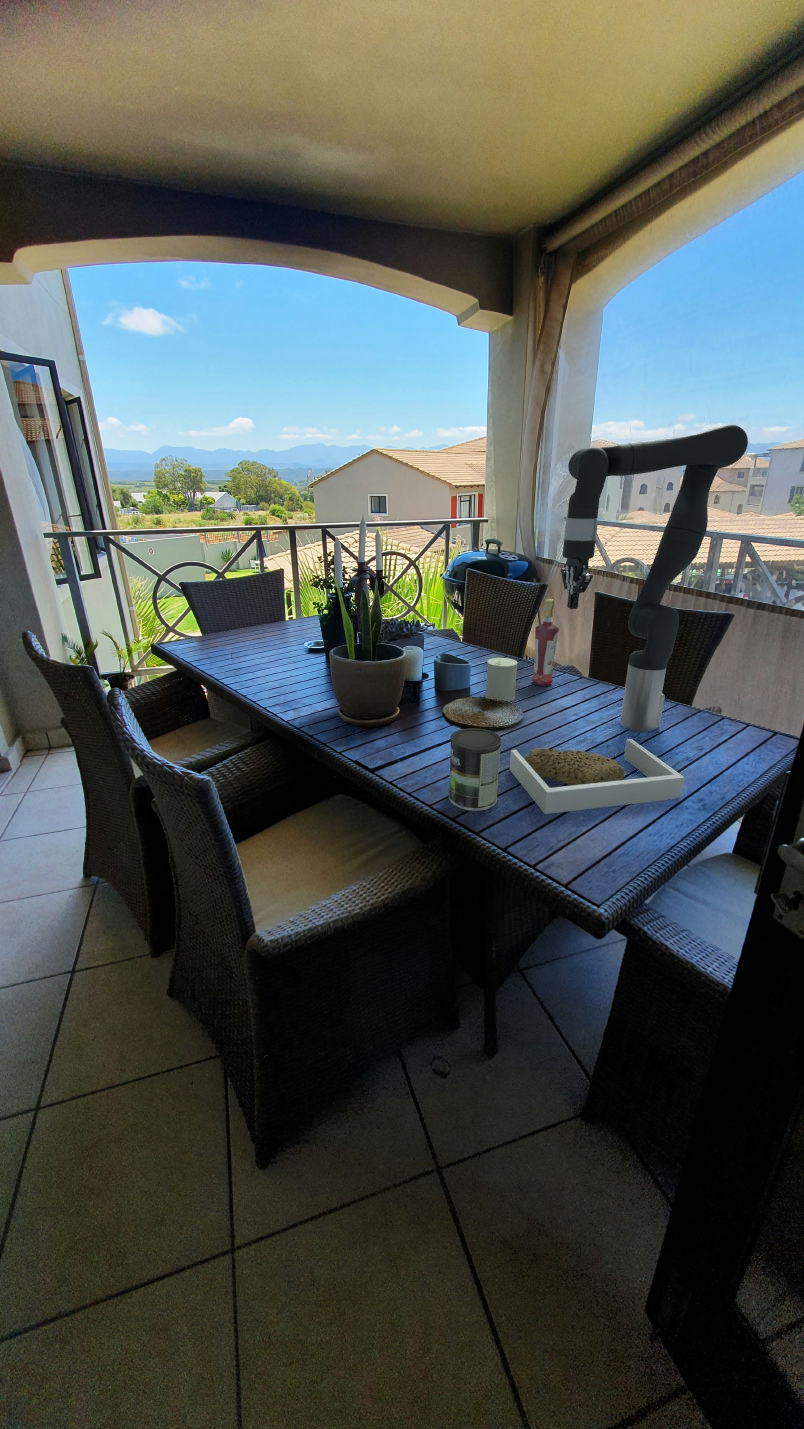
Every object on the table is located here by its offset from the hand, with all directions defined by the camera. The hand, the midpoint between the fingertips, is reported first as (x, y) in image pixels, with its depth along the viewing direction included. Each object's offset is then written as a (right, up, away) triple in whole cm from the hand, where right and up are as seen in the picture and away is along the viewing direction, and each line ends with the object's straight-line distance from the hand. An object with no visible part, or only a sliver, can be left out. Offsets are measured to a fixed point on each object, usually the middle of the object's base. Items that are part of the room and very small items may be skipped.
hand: (572, 608), depth 143 cm
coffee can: (-29, -45, -25) cm, 59 cm away
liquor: (+3, -17, +43) cm, 46 cm away
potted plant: (-53, -28, +18) cm, 62 cm away
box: (-2, -43, -19) cm, 47 cm away
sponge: (-5, -42, -18) cm, 46 cm away
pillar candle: (-13, -22, +32) cm, 41 cm away
